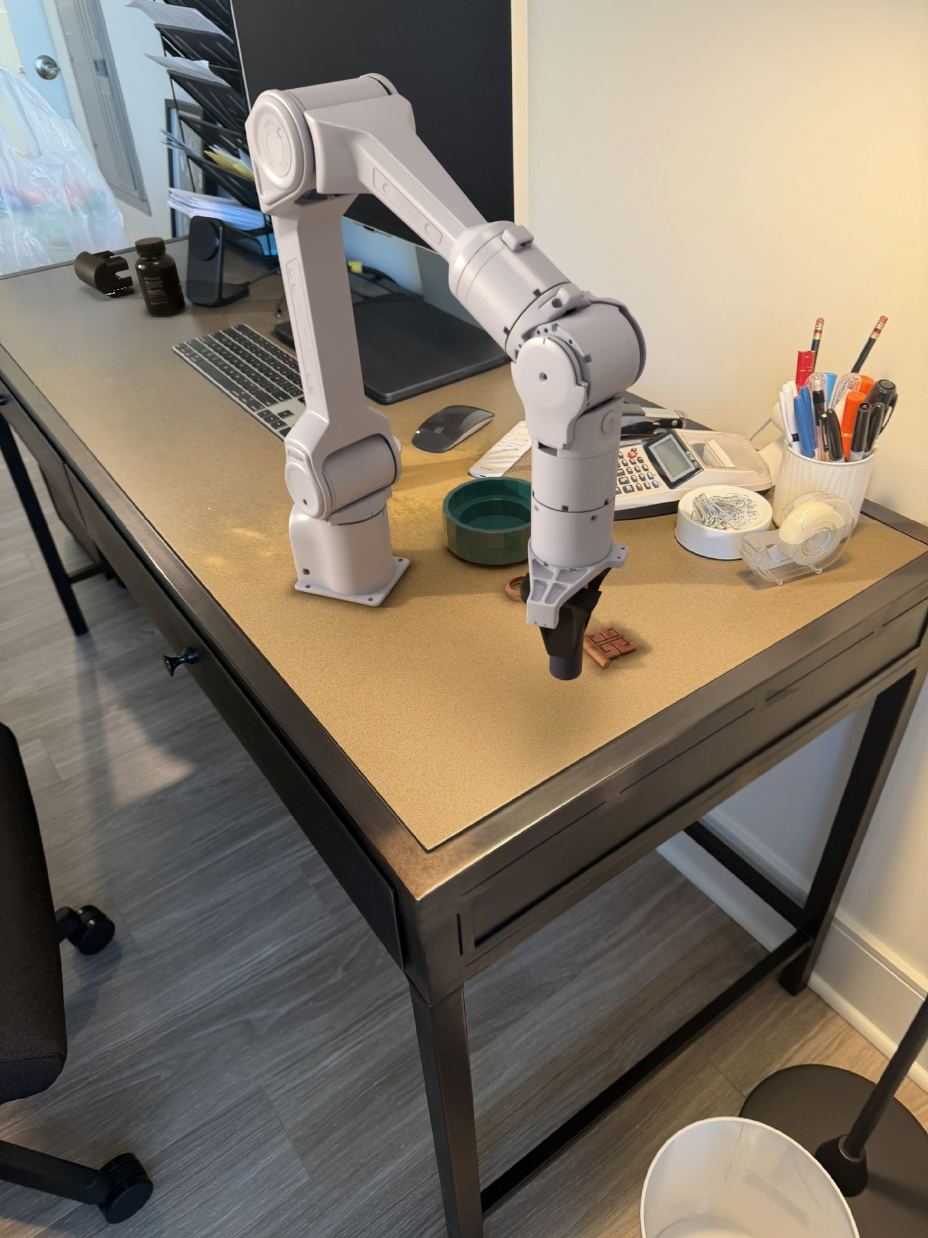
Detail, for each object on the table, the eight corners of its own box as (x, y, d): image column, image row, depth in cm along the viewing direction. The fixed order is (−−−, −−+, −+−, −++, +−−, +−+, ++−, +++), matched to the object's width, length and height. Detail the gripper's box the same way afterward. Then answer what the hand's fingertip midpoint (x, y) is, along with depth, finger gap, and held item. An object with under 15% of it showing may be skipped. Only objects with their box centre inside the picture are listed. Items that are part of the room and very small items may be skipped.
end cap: (80, 290, 165) (69, 254, 161) (115, 281, 169) (105, 245, 164) (100, 302, 159) (89, 265, 155) (136, 293, 163) (126, 256, 158)
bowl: (429, 558, 90) (426, 522, 87) (466, 504, 98) (465, 470, 95) (531, 577, 87) (531, 540, 84) (561, 520, 95) (562, 484, 92)
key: (640, 655, 77) (547, 572, 87) (642, 647, 77) (548, 564, 87) (588, 675, 75) (498, 586, 85) (589, 666, 74) (499, 579, 84)
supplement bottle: (194, 307, 155) (178, 237, 147) (166, 319, 150) (147, 248, 143) (168, 302, 158) (150, 232, 150) (139, 313, 153) (119, 243, 146)
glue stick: (544, 677, 68) (546, 586, 62) (554, 655, 70) (557, 565, 64) (577, 684, 67) (582, 593, 62) (586, 662, 69) (592, 572, 64)
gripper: (605, 559, 52) (593, 717, 60) (653, 449, 62) (637, 597, 71) (495, 540, 54) (498, 695, 62) (559, 436, 64) (555, 582, 73)
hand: (566, 642), depth 67 cm, fingers closed on glue stick, 2 cm apart
